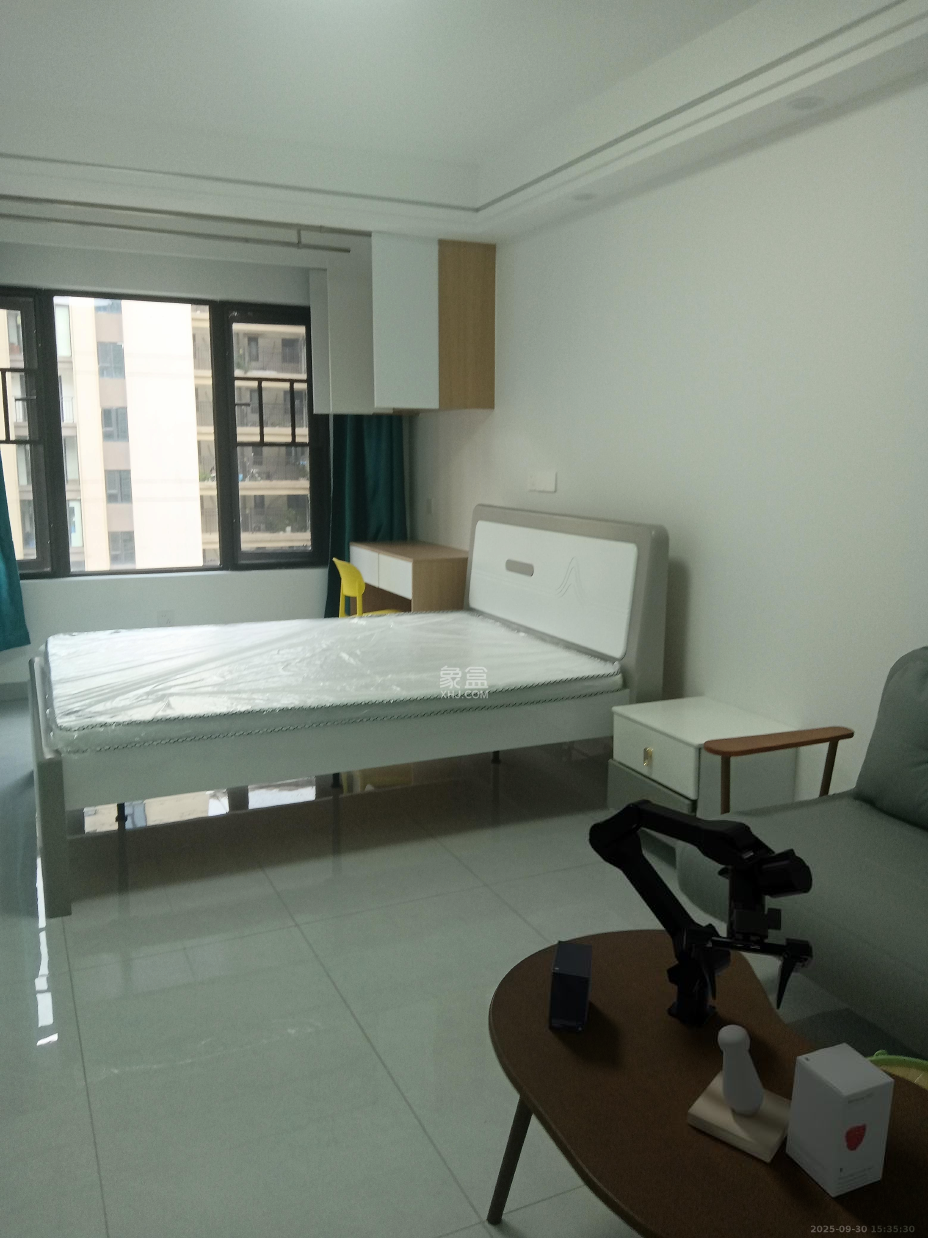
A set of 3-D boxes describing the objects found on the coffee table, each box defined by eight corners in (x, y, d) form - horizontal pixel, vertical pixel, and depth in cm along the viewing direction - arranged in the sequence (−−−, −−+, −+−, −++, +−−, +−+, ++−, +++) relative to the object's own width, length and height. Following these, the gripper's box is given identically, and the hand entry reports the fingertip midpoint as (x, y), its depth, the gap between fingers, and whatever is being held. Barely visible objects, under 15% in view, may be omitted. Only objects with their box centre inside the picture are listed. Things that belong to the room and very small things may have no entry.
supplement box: (832, 1200, 122) (844, 1097, 119) (783, 1153, 130) (793, 1055, 127) (884, 1180, 126) (896, 1080, 123) (833, 1135, 134) (844, 1040, 131)
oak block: (719, 1085, 145) (721, 1070, 144) (798, 1120, 138) (799, 1105, 137) (686, 1127, 135) (687, 1111, 135) (768, 1167, 128) (770, 1151, 128)
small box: (586, 1035, 155) (589, 976, 153) (546, 1029, 156) (549, 971, 154) (590, 999, 165) (594, 944, 163) (553, 993, 166) (556, 939, 165)
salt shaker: (774, 1106, 135) (763, 1033, 131) (745, 1128, 132) (732, 1055, 128) (744, 1082, 140) (732, 1011, 136) (716, 1103, 137) (702, 1032, 133)
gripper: (689, 877, 145) (685, 980, 137) (817, 892, 141) (820, 1000, 133) (685, 901, 154) (681, 1000, 146) (805, 916, 150) (808, 1019, 142)
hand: (745, 1004), depth 141 cm, fingers open, 9 cm apart
